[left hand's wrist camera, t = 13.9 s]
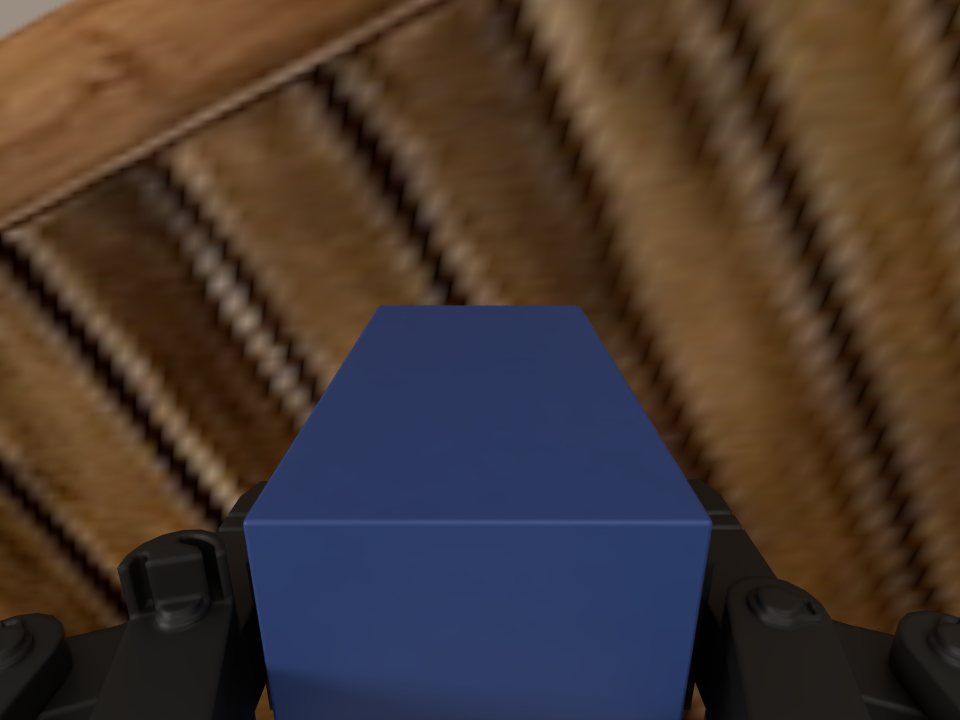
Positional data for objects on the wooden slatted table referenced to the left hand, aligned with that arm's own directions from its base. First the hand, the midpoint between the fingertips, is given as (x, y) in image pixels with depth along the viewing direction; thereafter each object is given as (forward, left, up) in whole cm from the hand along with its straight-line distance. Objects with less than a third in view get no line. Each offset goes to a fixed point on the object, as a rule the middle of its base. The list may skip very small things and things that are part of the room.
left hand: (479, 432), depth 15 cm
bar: (-7, +4, -1) cm, 8 cm away
